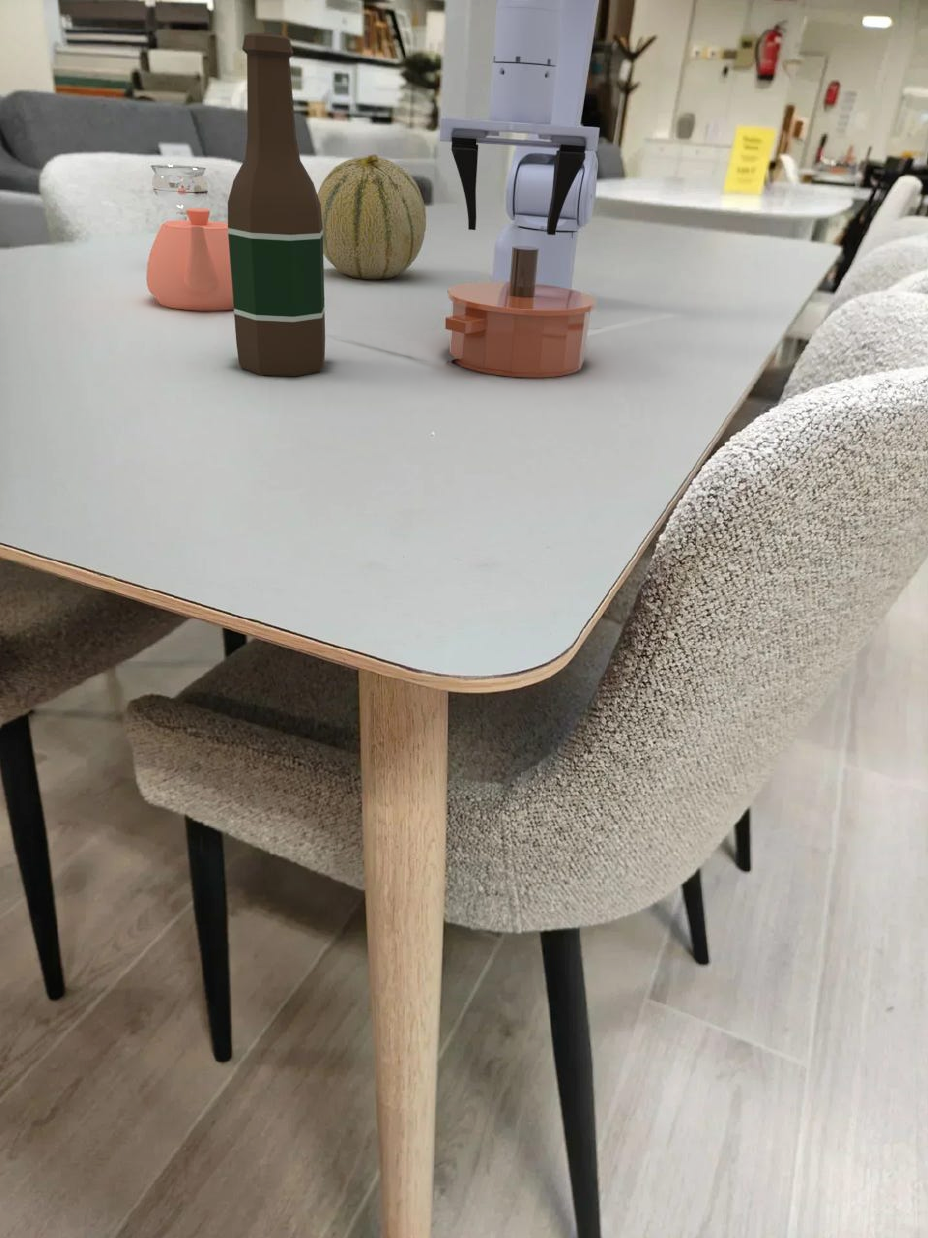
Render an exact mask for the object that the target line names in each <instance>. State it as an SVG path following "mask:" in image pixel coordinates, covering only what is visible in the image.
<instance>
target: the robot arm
mask: <svg viewBox="0 0 928 1238" xmlns="http://www.w3.org/2000/svg"><path fill="white" fill-rule="evenodd" d="M599 3H600V0H496V3H495V18H494V19H495V20H494V35H493V49H492V51H493V52H492V68H491V84H490V97H489V98H490V100H489V113H488V115H489V116H488V119H480V118H479V119H477V118H462V117H449V116H448V117H446V116H441V117H440V128H439V129H440V130H439V141H440V142H446V143H447V142H448V143H451V148H450V149H451V154H452V156H453V159H454V162H455V165H456V167H457V172H458V175H459V178H460V183H461V185H462V190H463V194H464V199H465V205H466V211H467V221H468V223H467V224H468V227H467V229H468V230H469V231H476V229H477V228H476V227H477V176H478V175H477V174H478V157H479V144H483V145H498V146H499V145H500V146H514V147H515V149H514V151H513V155H512V161H511V165H510V168H509V170H508V172H507V173H508V174H507V178H506V184H505V195H504V196H505V197H504V200H505V201H504V202H505V203H504V204H505V211H506V214H507V216H508V217H509V219H510V220H512V221H513V223H512V222H511V223H508V224H506V225H505V226H504V227H502V229H500V231H499V233H498V235H497V237H496V241H495V244H494V251H493V264H492V265H493V266H492V281H491V282H510V271H511V259H512V247H513V246H530V247H536V248H539V257H538V267H537V278H536V284H540V285H548V286H555V287H560V288H566V289H570V290H573V289H572V287H573V278H574V270H575V263H576V262H575V261H576V253H577V245H578V235H579V230H581V229H582V228H583V227H584V228H585V227H586V225H588V224H589V223H590V222H591V220H592V217H593V213H594V208H595V202H596V195H597V186H598V185H597V184H598V183H597V182H598V169H599V160H598V159H599V158H598V156H597V152H598V145H599V136H600V129H601V128H600V127H596V126H582V125H581V122H582V115H583V109H584V103H585V102H584V101H585V96H586V89H587V82H588V77H589V76H588V75H589V70H590V63H591V57H592V50H593V43H594V36H595V31H596V23H597V17H598V12H599V11H598V9H599ZM500 133H511V134H512V133H514V134H529V135H528V136H527V137H525V138H524V139H514V138H513V139H512V138H498V137H499V136H500Z"/></svg>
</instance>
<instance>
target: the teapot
mask: <svg viewBox="0 0 928 1238" xmlns="http://www.w3.org/2000/svg"><path fill="white" fill-rule="evenodd" d="M210 212H211V210H210V209H208V208H204V207H203V208H202V207H199V208H188V209H186V213H187V215H188V216H187V218H188V219H187V220H180V219H178V220H167V221H164V222H163V223H162V224H161V226H160V227H159V230H158V232H157V233H156V236H155V238H154V240H153V243H152V245H151V249H150V251H149V255H148V259H147V265H146V286H147V289H148V291H149V293H150V294H151V296H153V295H154V296H153V298H154V299H155V300H156V301H157V302H158V304H159V305H160V306H163V307H166V308H170V309H175V310H185V311H198V312H199V311H201V312H202V311H204V312H206V311H207V312H209V311H210V312H212V311H232V310H233V311H234V305H233V292H232V278H231V264H230V250H229V237H228V222H225V221H217V220H216V221H214V220H209V219H210V214H211V213H210ZM155 296H156V297H155ZM158 297H159V298H158Z"/></svg>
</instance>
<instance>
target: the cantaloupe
mask: <svg viewBox="0 0 928 1238" xmlns="http://www.w3.org/2000/svg"><path fill="white" fill-rule="evenodd" d="M317 195H318V198H319V201H320V204H321V214H322V226H323V256H324V257H325V258H326V260H327V261H328V262H329V263H330V264H331V265H332V266H333V267H334V268H335V269H336V270H337V271H339V272H340V273H342V274H345V275H346V276H349V277H351V278H354V279H361V280H362V279H363V280H376V281H377V280H387V279H391V278H393V277H396V276H398V275H399V274H401V273H403V272H404V271H406V270H407V269H408V268H409V267H411V265H412V263H414V261H415V260H416V258H417V257H418V255H419V254H420V251H421V249H422V246H423V244H424V240H425V237H426V236H425V235H426V234H425V233H426V231H427V213H426V211H427V210H426V206H425V202H424V198H423V196H422V193H421V189H420V188H419V186H418V184H417V183H416V181H415V180H414V178H413V177H412V176H411V175H410V174H409V173H408V172H407V171H406V170H405V169H404V168H403V167H401V166H400V165H398V164H396V163H395V162H393V161H391V160H389V159H386V158H384V157H379V156H378V155H377V154H375V153H374V154H370V155H368V156H359V157H355V158H351V159H347V160H345V161H343V162H341V163H340V164H338V165H336V166H335V167H333V169H331V170H330V171H329V173H328V174H327V175H326V176H325V177H324V179H323V180H322V182H321V185H320V187H319V189H318V191H317Z"/></svg>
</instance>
